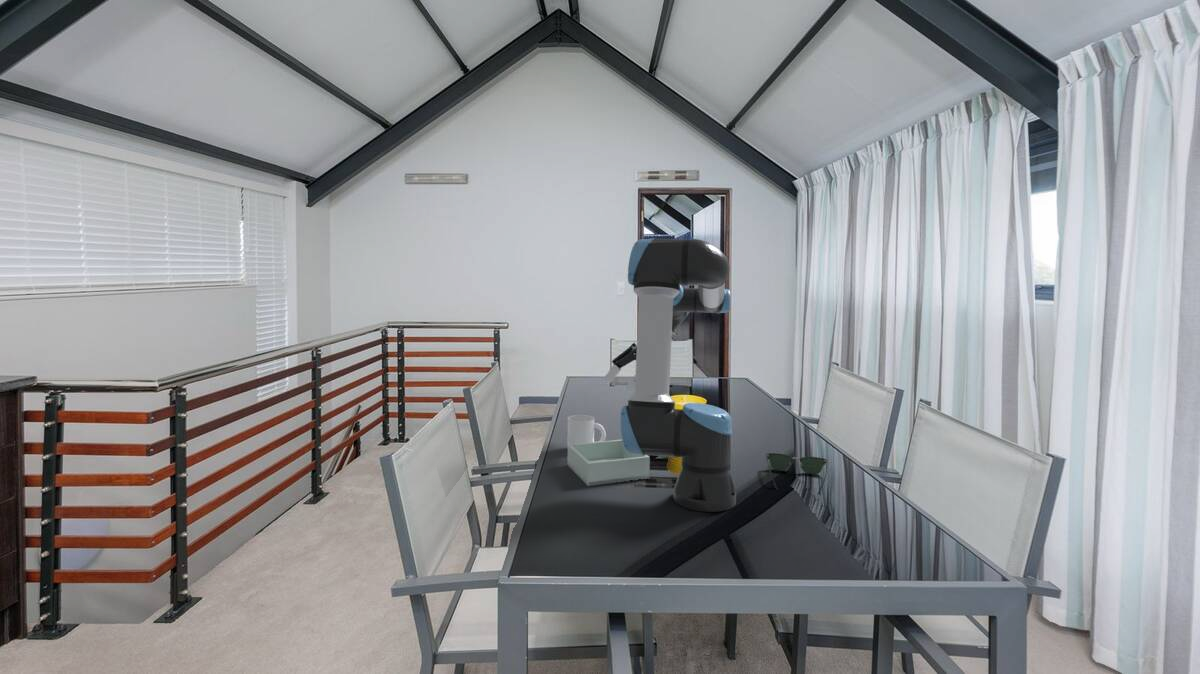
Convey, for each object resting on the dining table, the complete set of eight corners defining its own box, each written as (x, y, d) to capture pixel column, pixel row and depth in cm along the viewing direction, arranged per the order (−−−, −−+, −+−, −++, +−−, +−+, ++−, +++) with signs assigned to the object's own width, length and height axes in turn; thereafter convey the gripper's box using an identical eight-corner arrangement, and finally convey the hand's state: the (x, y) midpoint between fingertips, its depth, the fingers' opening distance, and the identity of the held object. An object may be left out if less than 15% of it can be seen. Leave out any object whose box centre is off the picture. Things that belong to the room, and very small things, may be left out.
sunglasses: (764, 489, 153) (764, 471, 152) (765, 469, 169) (766, 452, 169) (831, 497, 148) (832, 478, 148) (826, 475, 164) (827, 458, 164)
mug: (607, 448, 186) (608, 416, 185) (603, 456, 178) (603, 422, 177) (570, 445, 188) (570, 414, 187) (564, 453, 180) (564, 420, 179)
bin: (649, 478, 159) (649, 456, 158) (588, 486, 153) (588, 463, 152) (623, 458, 175) (624, 439, 175) (567, 465, 169) (567, 444, 168)
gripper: (686, 349, 184) (646, 401, 178) (640, 339, 205) (603, 386, 199) (673, 333, 180) (631, 385, 175) (628, 325, 202) (589, 372, 196)
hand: (616, 386), depth 187 cm, fingers open, 13 cm apart
